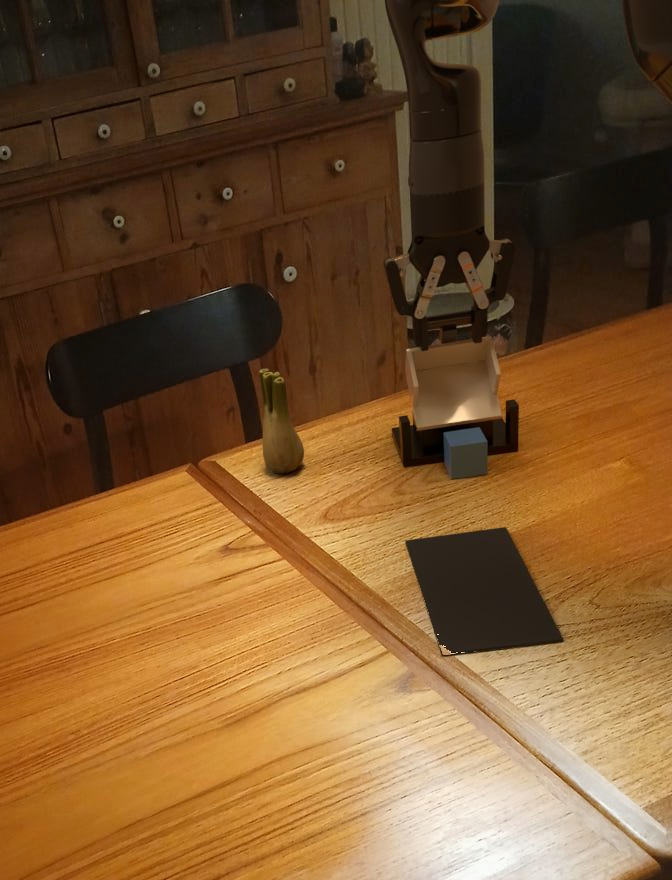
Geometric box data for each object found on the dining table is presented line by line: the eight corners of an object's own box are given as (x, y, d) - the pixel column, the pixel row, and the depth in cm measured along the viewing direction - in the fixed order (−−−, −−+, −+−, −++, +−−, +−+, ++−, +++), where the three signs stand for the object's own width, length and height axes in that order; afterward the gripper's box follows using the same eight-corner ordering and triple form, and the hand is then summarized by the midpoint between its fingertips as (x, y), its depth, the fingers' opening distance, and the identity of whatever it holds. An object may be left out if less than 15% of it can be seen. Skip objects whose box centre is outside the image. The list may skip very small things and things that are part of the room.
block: (479, 426, 110) (487, 441, 107) (479, 459, 112) (487, 474, 109) (443, 432, 111) (450, 446, 107) (444, 464, 113) (451, 479, 109)
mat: (505, 529, 99) (505, 526, 98) (563, 641, 82) (563, 638, 82) (405, 542, 100) (405, 540, 100) (442, 656, 83) (441, 653, 83)
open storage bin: (483, 344, 115) (490, 303, 109) (501, 418, 111) (510, 379, 105) (401, 357, 117) (404, 316, 110) (416, 431, 112) (419, 393, 106)
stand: (498, 419, 120) (499, 376, 117) (518, 451, 112) (519, 405, 109) (391, 435, 122) (389, 392, 119) (403, 467, 114) (401, 422, 111)
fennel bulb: (266, 460, 122) (253, 366, 115) (306, 455, 121) (295, 360, 114) (264, 480, 117) (250, 383, 111) (305, 476, 116) (294, 378, 110)
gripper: (381, 200, 99) (390, 365, 108) (526, 175, 98) (524, 345, 107) (372, 189, 106) (381, 345, 115) (508, 166, 104) (507, 326, 113)
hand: (450, 344), depth 111 cm, fingers closed on open storage bin, 5 cm apart
